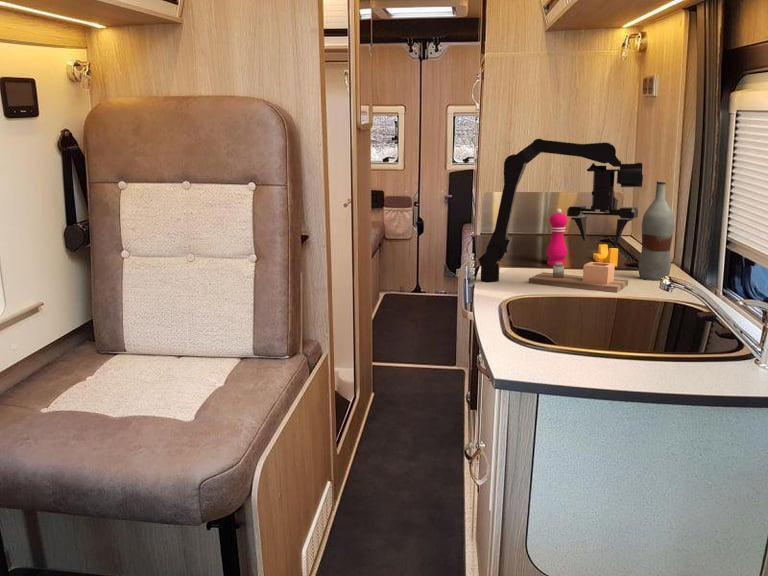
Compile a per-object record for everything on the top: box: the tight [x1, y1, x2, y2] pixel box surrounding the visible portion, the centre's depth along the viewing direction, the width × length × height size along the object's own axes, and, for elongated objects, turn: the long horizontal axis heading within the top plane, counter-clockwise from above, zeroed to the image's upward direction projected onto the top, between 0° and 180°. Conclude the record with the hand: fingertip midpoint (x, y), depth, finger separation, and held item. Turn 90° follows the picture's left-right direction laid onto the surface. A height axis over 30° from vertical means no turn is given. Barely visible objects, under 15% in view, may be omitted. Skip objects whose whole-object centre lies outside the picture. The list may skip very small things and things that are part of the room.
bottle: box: [638, 180, 675, 281], centre depth 192 cm, size 9×9×30 cm
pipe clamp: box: [592, 243, 619, 268], centre depth 221 cm, size 12×4×6 cm, turn 0°
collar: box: [582, 261, 615, 284], centre depth 183 cm, size 7×7×5 cm
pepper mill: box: [545, 208, 568, 267], centre depth 218 cm, size 7×7×20 cm
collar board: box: [528, 262, 629, 293], centre depth 186 cm, size 12×26×6 cm, turn 56°
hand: (600, 241), depth 181 cm, fingers open, 9 cm apart
